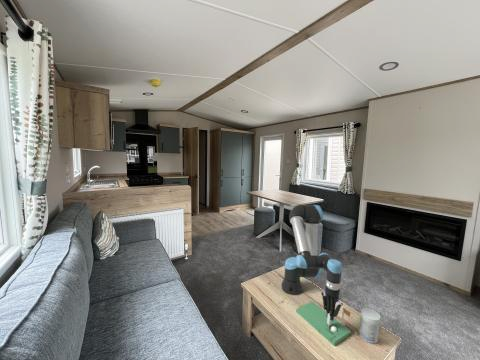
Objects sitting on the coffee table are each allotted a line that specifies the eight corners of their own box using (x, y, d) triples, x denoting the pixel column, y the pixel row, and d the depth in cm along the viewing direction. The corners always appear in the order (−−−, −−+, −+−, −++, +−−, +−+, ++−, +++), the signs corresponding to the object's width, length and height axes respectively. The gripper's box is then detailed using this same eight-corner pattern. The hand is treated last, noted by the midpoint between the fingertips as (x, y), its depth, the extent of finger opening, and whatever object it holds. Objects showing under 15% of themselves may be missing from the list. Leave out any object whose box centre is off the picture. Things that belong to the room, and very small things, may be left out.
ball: (335, 326, 121) (336, 333, 119) (337, 326, 123) (338, 333, 122) (329, 326, 123) (330, 333, 121) (331, 325, 125) (332, 333, 123)
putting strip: (296, 311, 138) (297, 292, 136) (311, 303, 145) (313, 285, 143) (334, 345, 114) (336, 322, 112) (350, 334, 121) (352, 312, 120)
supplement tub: (365, 327, 127) (368, 305, 125) (382, 340, 118) (385, 316, 116) (355, 333, 122) (357, 310, 120) (371, 346, 114) (374, 322, 112)
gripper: (319, 282, 125) (316, 318, 128) (339, 295, 114) (335, 334, 117) (327, 278, 129) (324, 313, 132) (347, 291, 118) (343, 328, 121)
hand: (329, 323), depth 125 cm, fingers closed
